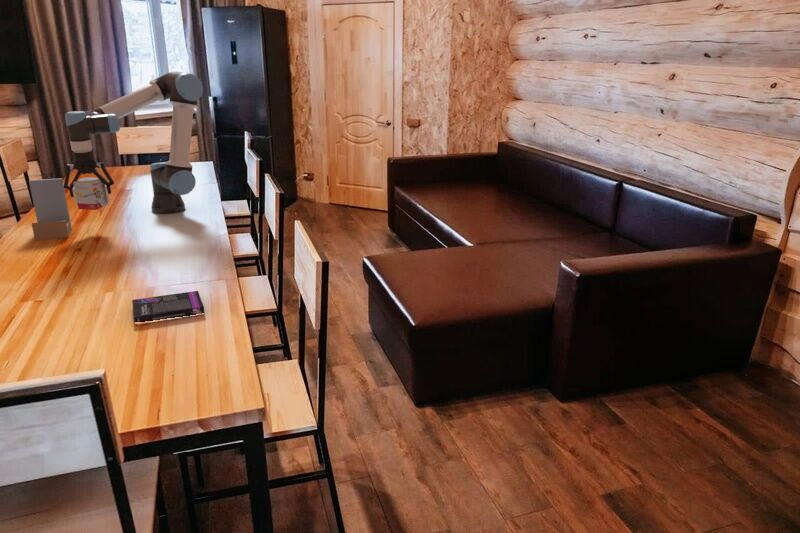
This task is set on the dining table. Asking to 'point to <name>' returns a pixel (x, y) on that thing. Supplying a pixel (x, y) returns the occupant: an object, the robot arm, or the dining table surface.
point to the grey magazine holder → (50, 209)
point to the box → (167, 306)
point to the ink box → (90, 193)
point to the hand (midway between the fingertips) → (93, 202)
